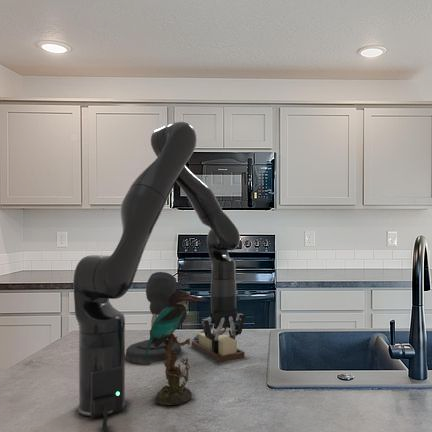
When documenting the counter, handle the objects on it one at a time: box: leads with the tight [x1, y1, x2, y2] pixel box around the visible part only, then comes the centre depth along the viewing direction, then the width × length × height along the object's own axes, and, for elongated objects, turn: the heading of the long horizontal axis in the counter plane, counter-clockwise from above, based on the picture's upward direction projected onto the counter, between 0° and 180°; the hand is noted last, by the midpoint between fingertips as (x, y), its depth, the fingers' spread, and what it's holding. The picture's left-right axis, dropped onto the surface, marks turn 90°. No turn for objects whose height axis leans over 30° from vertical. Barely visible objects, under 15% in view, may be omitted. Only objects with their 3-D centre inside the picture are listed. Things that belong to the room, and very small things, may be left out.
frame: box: [191, 340, 246, 363], centre depth 137 cm, size 20×8×2 cm, turn 35°
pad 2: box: [211, 333, 238, 356], centre depth 134 cm, size 8×4×4 cm, turn 35°
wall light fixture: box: [125, 271, 182, 365], centre depth 138 cm, size 16×25×20 cm
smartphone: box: [193, 327, 227, 341], centre depth 157 cm, size 8×1×15 cm
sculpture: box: [143, 289, 205, 406], centre depth 103 cm, size 8×14×25 cm, turn 86°
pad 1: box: [198, 331, 212, 351], centre depth 141 cm, size 8×4×4 cm, turn 35°
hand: (223, 350), depth 134 cm, fingers closed on pad 2, 4 cm apart
